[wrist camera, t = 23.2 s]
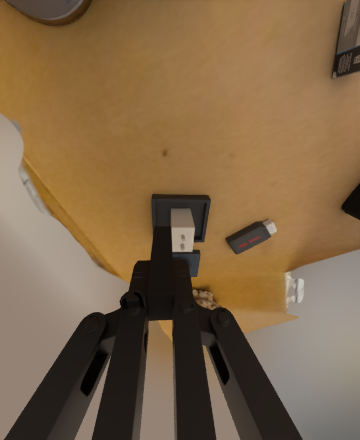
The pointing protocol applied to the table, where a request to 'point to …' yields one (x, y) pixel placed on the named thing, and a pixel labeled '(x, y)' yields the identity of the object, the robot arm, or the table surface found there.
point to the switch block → (189, 260)
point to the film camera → (353, 204)
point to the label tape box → (348, 41)
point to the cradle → (193, 202)
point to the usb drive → (251, 236)
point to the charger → (182, 230)
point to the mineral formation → (205, 299)
